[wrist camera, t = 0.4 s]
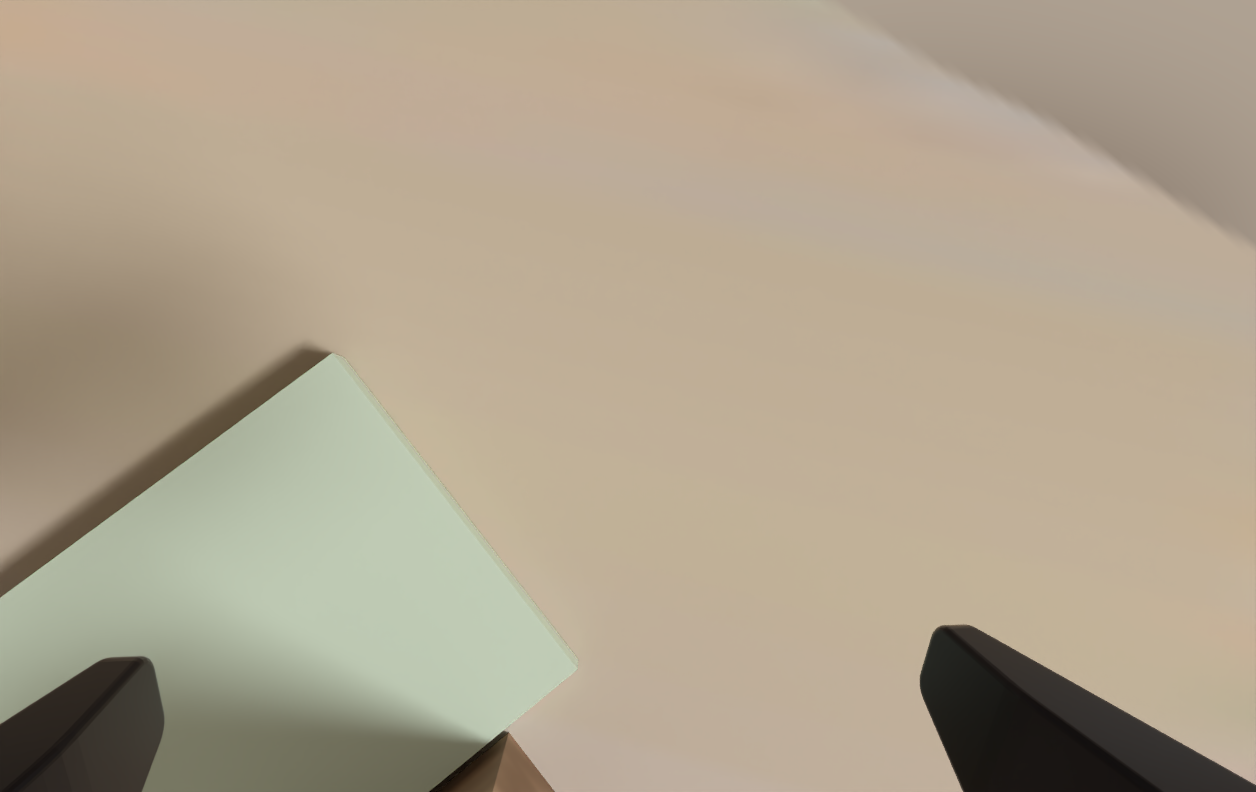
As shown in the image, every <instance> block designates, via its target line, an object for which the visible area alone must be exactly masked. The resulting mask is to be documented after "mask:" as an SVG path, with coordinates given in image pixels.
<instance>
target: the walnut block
mask: <svg viewBox="0 0 1256 792" xmlns="http://www.w3.org/2000/svg"><path fill="white" fill-rule="evenodd" d="M437 792H554V790H553V789H552V788H551V786H550V785H549V784H548V783H547V781H546V780H545V779H544V777H543V776H542V775H541V773H540V772H539V771H538V770H537V768H536V767H535V766H534V764H533V763H532V762H531V760H530V759H529V758H528V757H527V755H526V754H525V753H524V751H523V750H522V749H521V747H520V746H519V745H518V744H517V742H516V741H515V740H514V738H513V737H512V736H511V734H510V733H508V734H507V735H505V736H504V737H503V738H502V739H500V740H499V741H498V742H497V743H496V744H494V745H493V746H492V747H491V748H490V749H488V750H487V751H486V752H485V753H483V754H482V755H481V756H480V757H479V758H477V759H476V760H475V761H474V762H473V763H471V764H470V765H469V766H468V767H466V768H465V769H464V770H463V771H462V772H460V773H459V774H458V775H457V776H456V777H454V778H453V779H452V780H451V781H450V782H448V783H447V784H446V785H445V786H443V787H442V788H441V789H440V790H439V791H437Z"/></svg>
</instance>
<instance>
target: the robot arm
mask: <svg viewBox="0 0 1256 792" xmlns="http://www.w3.org/2000/svg"><path fill="white" fill-rule="evenodd" d="M920 689H921V693H922V697H923V699H924V702H925V704H926V706H927V709H928V711H929V713H930V716H931V718H932V720H933V723H934V725H935V727H936V730H937V732H938V734H939V737H940V739H941V741H942V744H943V746H944V748H945V751H946V753H947V755H948V758H949V760H950V762H951V765H952V767H953V769H954V772H955V774H956V776H957V779H958V781H959V783H960V786H961V788H962V790H963V792H1256V785H1255V784H1253V783H1251V782H1249V781H1248V780H1246V779H1244V778H1242V777H1240V776H1239V775H1237V774H1235V773H1233V772H1232V771H1230V770H1228V769H1226V768H1224V767H1223V766H1221V765H1219V764H1217V763H1215V762H1214V761H1212V760H1210V759H1208V758H1207V757H1205V756H1203V755H1201V754H1199V753H1198V752H1196V751H1194V750H1192V749H1191V748H1189V747H1187V746H1185V745H1183V744H1182V743H1180V742H1178V741H1176V740H1174V739H1173V738H1171V737H1169V736H1167V735H1166V734H1164V733H1162V732H1160V731H1158V730H1157V729H1155V728H1153V727H1151V726H1149V725H1148V724H1146V723H1144V722H1142V721H1141V720H1139V719H1137V718H1135V717H1133V716H1132V715H1130V714H1128V713H1126V712H1125V711H1123V710H1121V709H1119V708H1117V707H1116V706H1114V705H1112V704H1110V703H1109V702H1107V701H1105V700H1103V699H1101V698H1100V697H1098V696H1096V695H1094V694H1092V693H1091V692H1089V691H1087V690H1085V689H1084V688H1082V687H1080V686H1078V685H1076V684H1075V683H1073V682H1071V681H1069V680H1068V679H1066V678H1064V677H1062V676H1060V675H1059V674H1057V673H1055V672H1053V671H1052V670H1050V669H1048V668H1046V667H1044V666H1043V665H1041V664H1039V663H1037V662H1035V661H1034V660H1032V659H1030V658H1028V657H1027V656H1025V655H1023V654H1021V653H1019V652H1018V651H1016V650H1014V649H1012V648H1011V647H1009V646H1007V645H1005V644H1003V643H1002V642H1000V641H998V640H996V639H995V638H993V637H991V636H989V635H987V634H986V633H984V632H982V631H980V630H978V629H977V628H975V627H973V626H970V625H943V626H940V627H938V628H937V629H936V630H935V631H934V632H933V634H932V637H931V640H930V643H929V647H928V650H927V654H926V657H925V660H924V664H923V667H922V670H921V674H920ZM164 724H165V716H164V710H163V705H162V700H161V695H160V691H159V686H158V681H157V677H156V672H155V668H154V665H153V663H152V661H151V660H150V659H149V658H147V657H144V656H126V657H109V658H104V659H102V660H100V661H98V662H96V663H94V664H93V665H91V666H90V667H88V668H87V669H85V670H84V671H82V672H80V673H79V674H77V675H76V676H74V677H73V678H71V679H69V680H68V681H66V682H65V683H63V684H62V685H60V686H59V687H57V688H55V689H54V690H52V691H51V692H49V693H48V694H46V695H45V696H43V697H41V698H40V699H38V700H37V701H35V702H34V703H32V704H30V705H29V706H27V707H26V708H24V709H23V710H21V711H20V712H18V713H16V714H15V715H13V716H12V717H10V718H9V719H7V720H5V721H4V722H2V723H1V724H0V792H142V790H143V787H144V785H145V782H146V779H147V777H148V774H149V771H150V769H151V766H152V763H153V761H154V758H155V755H156V753H157V750H158V747H159V744H160V742H161V739H162V735H163V731H164Z"/></svg>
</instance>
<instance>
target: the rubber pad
mask: <svg viewBox="0 0 1256 792" xmlns="http://www.w3.org/2000/svg"><path fill="white" fill-rule="evenodd" d="M126 656H144V657H147V658H149V659H150V660H151V661H152V663H153V665H154V668H155V672H156V677H157V681H158V686H159V691H160V695H161V700H162V705H163V710H164V716H165V724H164V731H163V735H162V739H161V742H160V744H159V747H158V750H157V753H156V755H155V758H154V761H153V763H152V766H151V769H150V771H149V774H148V777H147V779H146V782H145V785H144V787H143V790H142V792H429V791H430V790H432V789H433V788H434V787H435V786H437V785H438V784H439V783H440V782H441V781H443V780H444V779H445V778H446V777H447V776H449V775H450V774H451V773H452V772H454V771H455V770H456V769H457V768H458V767H460V766H461V765H462V764H463V763H464V762H466V761H467V760H468V759H469V758H471V757H472V756H473V755H474V754H475V753H477V752H478V751H479V750H480V749H481V748H483V747H484V746H485V745H486V744H488V743H489V742H490V741H491V740H492V739H494V738H495V737H496V736H497V735H498V734H500V733H501V732H502V731H503V730H505V729H506V728H507V727H508V726H509V725H511V724H512V723H513V722H514V721H515V720H517V719H518V718H519V717H520V716H522V715H523V714H524V713H525V712H526V711H528V710H529V709H530V708H531V707H532V706H534V705H535V704H536V703H537V702H539V701H540V700H541V699H542V698H543V697H545V696H546V695H547V694H548V693H549V692H551V691H552V690H553V689H554V688H556V687H557V686H558V685H559V684H560V683H562V682H563V681H564V680H565V679H566V678H568V677H569V676H570V675H571V674H573V673H574V672H575V671H576V670H577V669H578V659H577V657H576V656H575V655H574V654H573V652H572V651H571V650H570V648H569V647H568V646H567V645H566V643H565V642H564V641H563V639H562V638H561V637H560V636H559V634H558V633H557V632H556V630H555V629H554V628H553V627H552V625H551V624H550V623H549V621H548V620H547V619H546V617H545V616H544V615H543V614H542V612H541V611H540V610H539V608H538V607H537V606H536V605H535V603H534V602H533V601H532V599H531V598H530V597H529V596H528V594H527V593H526V592H525V590H524V589H523V588H522V587H521V585H520V584H519V583H518V581H517V580H516V579H515V577H514V576H513V575H512V574H511V572H510V571H509V570H508V568H507V567H506V566H505V565H504V563H503V562H502V561H501V559H500V558H499V557H498V556H497V554H496V553H495V552H494V550H493V549H492V548H491V547H490V545H489V544H488V543H487V541H486V540H485V539H484V537H483V536H482V535H481V534H480V532H479V531H478V530H477V528H476V527H475V526H474V525H473V523H472V522H471V521H470V519H469V518H468V517H467V516H466V514H465V513H464V512H463V510H462V509H461V508H460V507H459V505H458V504H457V503H456V501H455V500H454V499H453V497H452V496H451V495H450V494H449V492H448V491H447V490H446V488H445V487H444V486H443V485H442V483H441V482H440V481H439V479H438V478H437V477H436V476H435V474H434V473H433V472H432V470H431V469H430V468H429V467H428V465H427V464H426V463H425V461H424V460H423V459H422V458H421V456H420V455H419V454H418V452H417V451H416V450H415V448H414V447H413V446H412V445H411V443H410V442H409V441H408V439H407V438H406V437H405V436H404V434H403V433H402V432H401V430H400V429H399V428H398V427H397V425H396V424H395V423H394V421H393V420H392V419H391V418H390V416H389V415H388V414H387V412H386V411H385V410H384V408H383V407H382V406H381V405H380V403H379V402H378V401H377V399H376V398H375V397H374V396H373V394H372V393H371V392H370V390H369V389H368V388H367V387H366V385H365V384H364V383H363V381H362V380H361V379H360V378H359V376H358V375H357V374H356V372H355V371H354V370H353V368H352V367H351V366H350V365H349V363H348V362H347V361H346V359H345V358H344V357H342V356H339V355H337V354H334V353H331V354H330V355H329V356H327V357H326V358H325V359H323V360H322V361H321V362H319V363H318V364H317V365H315V366H314V367H312V368H311V369H310V370H308V371H307V372H306V373H304V374H303V375H302V376H300V377H299V378H298V379H296V380H295V381H293V382H292V383H291V384H289V385H288V386H287V387H285V388H284V389H283V390H281V391H280V392H279V393H277V394H276V395H274V396H273V397H272V398H270V399H269V400H268V401H266V402H265V403H264V404H262V405H261V406H260V407H258V408H257V409H255V410H254V411H253V412H251V413H250V414H249V415H247V416H246V417H245V418H243V419H242V420H241V421H239V422H238V423H236V424H235V425H234V426H232V427H231V428H230V429H228V430H227V431H226V432H224V433H223V434H222V435H220V436H219V437H218V438H216V439H215V440H213V441H212V442H211V443H209V444H208V445H207V446H205V447H204V448H203V449H201V450H200V451H199V452H197V453H196V454H194V455H193V456H192V457H190V458H189V459H188V460H186V461H185V462H184V463H182V464H181V465H180V466H178V467H177V468H175V469H174V470H173V471H171V472H170V473H169V474H167V475H166V476H165V477H163V478H162V479H161V480H159V481H158V482H156V483H155V484H154V485H152V486H151V487H150V488H148V489H147V490H146V491H144V492H143V493H142V494H140V495H139V496H137V497H136V498H135V499H133V500H132V501H131V502H129V503H128V504H127V505H125V506H124V507H123V508H121V509H120V510H118V511H117V512H116V513H114V514H113V515H112V516H110V517H109V518H108V519H106V520H105V521H104V522H102V523H101V524H99V525H98V526H97V527H95V528H94V529H93V530H91V531H90V532H89V533H87V534H86V535H85V536H83V537H82V538H80V539H79V540H78V541H76V542H75V543H74V544H72V545H71V546H70V547H68V548H67V549H66V550H64V551H63V552H62V553H60V554H59V555H57V556H56V557H55V558H53V559H52V560H51V561H49V562H48V563H47V564H45V565H44V566H43V567H41V568H40V569H38V570H37V571H36V572H34V573H33V574H32V575H30V576H29V577H28V578H26V579H25V580H24V581H22V582H21V583H19V584H18V585H17V586H15V587H14V588H13V589H11V590H10V591H9V592H7V593H6V594H5V595H3V596H2V597H0V724H1V723H2V722H4V721H5V720H7V719H9V718H10V717H12V716H13V715H15V714H16V713H18V712H20V711H21V710H23V709H24V708H26V707H27V706H29V705H30V704H32V703H34V702H35V701H37V700H38V699H40V698H41V697H43V696H45V695H46V694H48V693H49V692H51V691H52V690H54V689H55V688H57V687H59V686H60V685H62V684H63V683H65V682H66V681H68V680H69V679H71V678H73V677H74V676H76V675H77V674H79V673H80V672H82V671H84V670H85V669H87V668H88V667H90V666H91V665H93V664H94V663H96V662H98V661H100V660H102V659H104V658H109V657H126Z"/></svg>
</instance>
